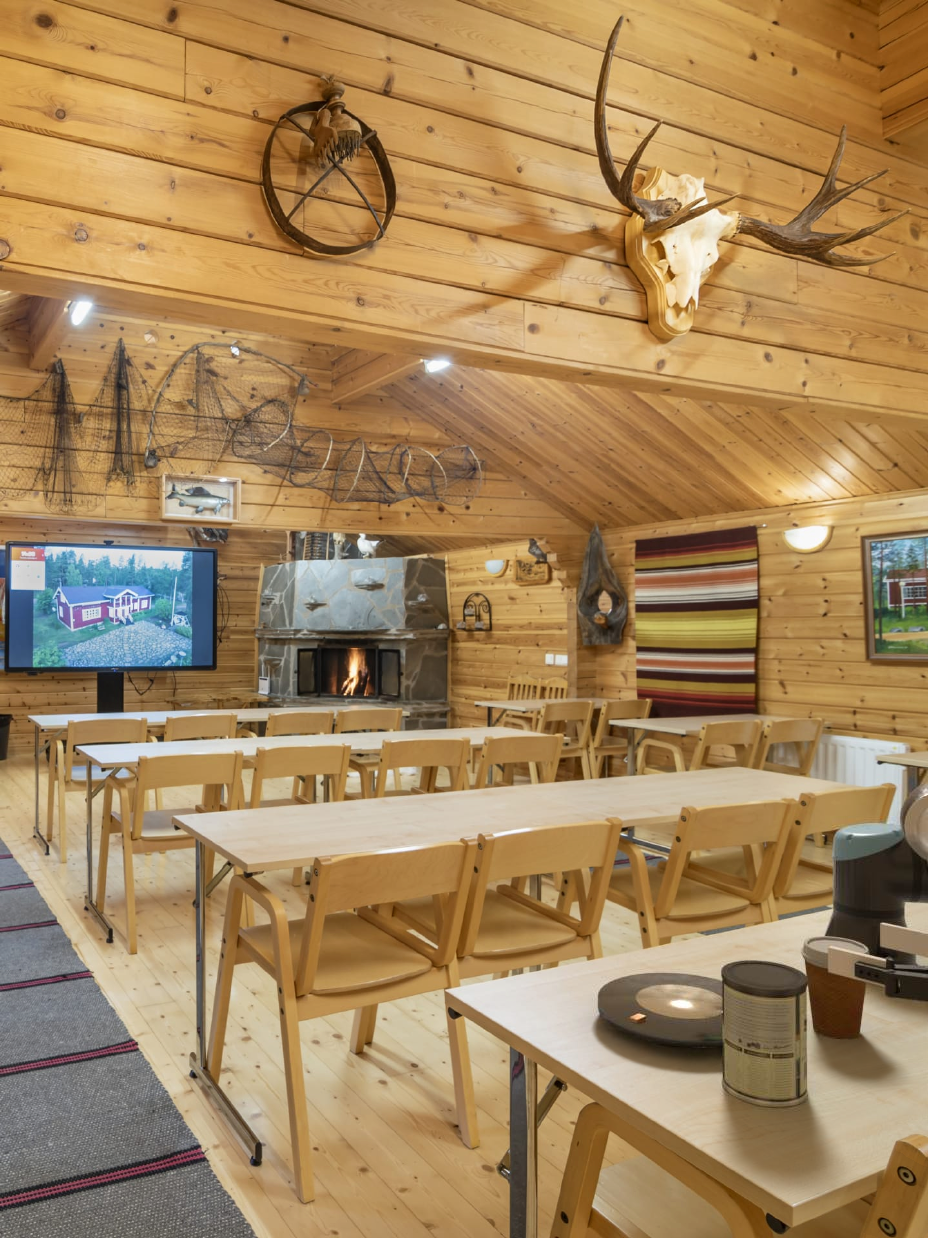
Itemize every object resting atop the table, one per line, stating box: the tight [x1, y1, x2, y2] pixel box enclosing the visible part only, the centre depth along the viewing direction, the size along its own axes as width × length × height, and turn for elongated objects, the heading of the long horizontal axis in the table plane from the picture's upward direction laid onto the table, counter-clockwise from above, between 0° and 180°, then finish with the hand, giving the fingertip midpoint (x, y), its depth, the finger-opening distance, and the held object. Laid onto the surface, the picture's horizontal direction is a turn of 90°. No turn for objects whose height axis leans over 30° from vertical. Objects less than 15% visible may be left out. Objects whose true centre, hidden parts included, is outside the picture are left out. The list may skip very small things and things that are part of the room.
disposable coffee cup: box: [800, 935, 869, 1039], centre depth 135 cm, size 10×10×12 cm
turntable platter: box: [597, 972, 723, 1049], centre depth 136 cm, size 24×24×2 cm
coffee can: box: [720, 959, 809, 1108], centre depth 117 cm, size 10×10×14 cm
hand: (856, 946), depth 109 cm, fingers open, 13 cm apart
